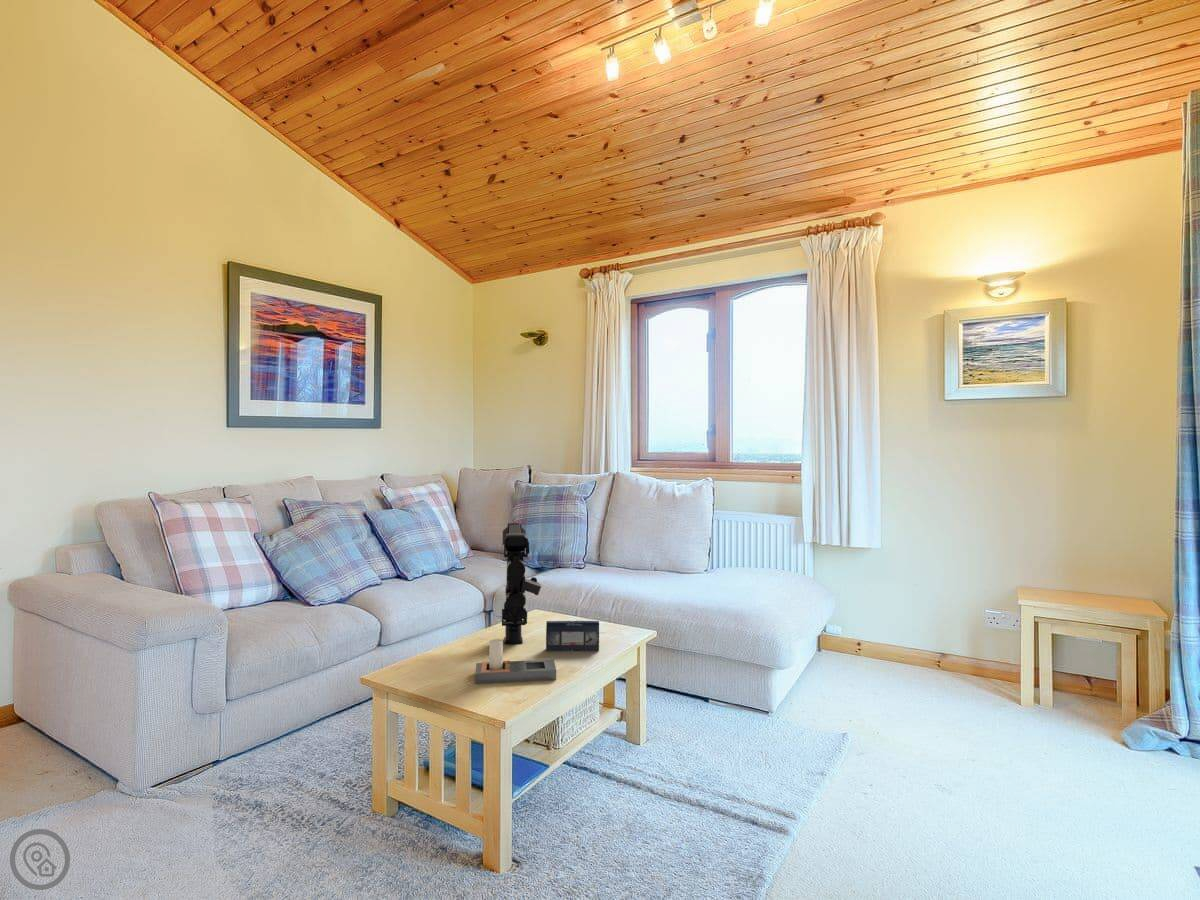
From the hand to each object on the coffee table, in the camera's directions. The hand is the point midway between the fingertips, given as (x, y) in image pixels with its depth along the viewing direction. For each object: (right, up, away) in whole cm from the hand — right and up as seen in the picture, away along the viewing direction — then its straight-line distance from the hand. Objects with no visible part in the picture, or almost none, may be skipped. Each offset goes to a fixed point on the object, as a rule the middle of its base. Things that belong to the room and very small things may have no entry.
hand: (514, 619), depth 200 cm
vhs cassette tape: (+19, -14, +9) cm, 25 cm away
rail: (+2, -13, -15) cm, 20 cm away
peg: (-4, -13, -16) cm, 21 cm away
